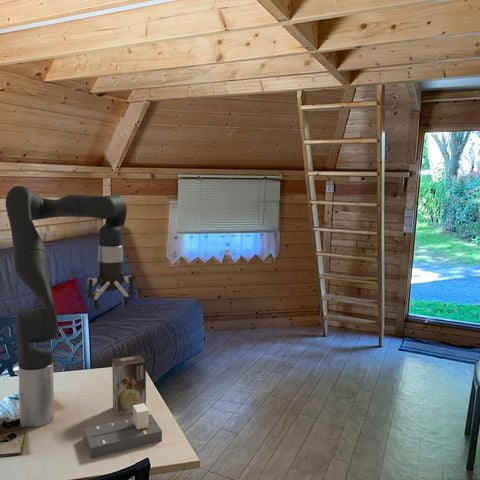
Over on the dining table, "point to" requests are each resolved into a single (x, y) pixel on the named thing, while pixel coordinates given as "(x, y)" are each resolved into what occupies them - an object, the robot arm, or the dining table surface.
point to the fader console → (120, 436)
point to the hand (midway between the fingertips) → (110, 308)
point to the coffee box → (128, 383)
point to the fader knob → (140, 416)
